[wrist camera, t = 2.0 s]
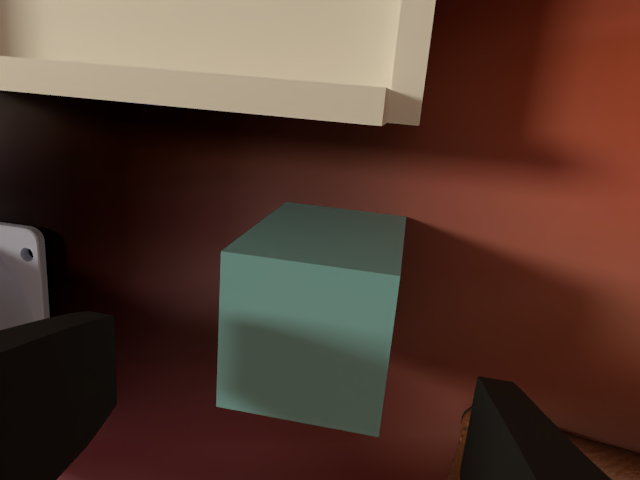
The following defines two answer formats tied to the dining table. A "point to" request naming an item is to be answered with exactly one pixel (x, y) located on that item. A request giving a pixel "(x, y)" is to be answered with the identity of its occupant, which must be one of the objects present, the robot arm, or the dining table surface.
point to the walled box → (226, 55)
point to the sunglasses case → (620, 465)
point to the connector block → (310, 316)
